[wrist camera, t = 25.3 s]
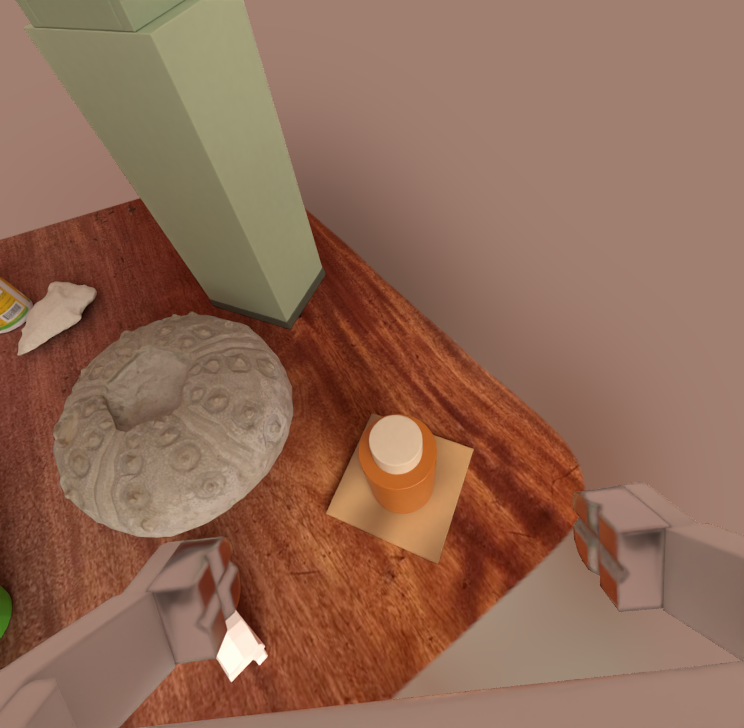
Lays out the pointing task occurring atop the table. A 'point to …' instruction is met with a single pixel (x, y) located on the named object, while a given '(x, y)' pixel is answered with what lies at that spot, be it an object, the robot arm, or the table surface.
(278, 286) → the cabinet
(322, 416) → the table surface
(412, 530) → the coaster
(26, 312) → the supplement bottle
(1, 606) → the cup
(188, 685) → the table surface
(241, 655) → the figurine
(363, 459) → the amber bottle
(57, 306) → the arrowhead
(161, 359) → the decorative shell
